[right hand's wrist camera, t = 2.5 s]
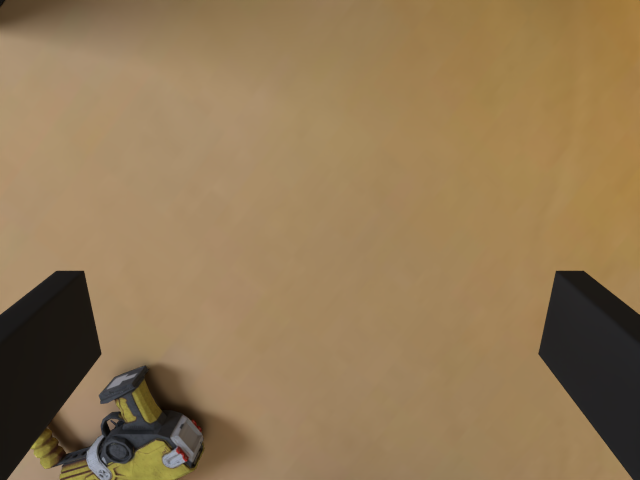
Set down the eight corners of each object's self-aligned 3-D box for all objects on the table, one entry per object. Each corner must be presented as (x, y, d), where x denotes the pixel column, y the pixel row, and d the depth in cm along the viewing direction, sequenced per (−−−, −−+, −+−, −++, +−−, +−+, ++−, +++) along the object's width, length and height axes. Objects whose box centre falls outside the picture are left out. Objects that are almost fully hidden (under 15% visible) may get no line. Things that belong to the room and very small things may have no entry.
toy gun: (-57, 461, 48) (40, 553, 51) (102, 361, 42) (202, 472, 45) (-22, 430, 52) (66, 516, 55) (127, 335, 46) (216, 438, 49)
